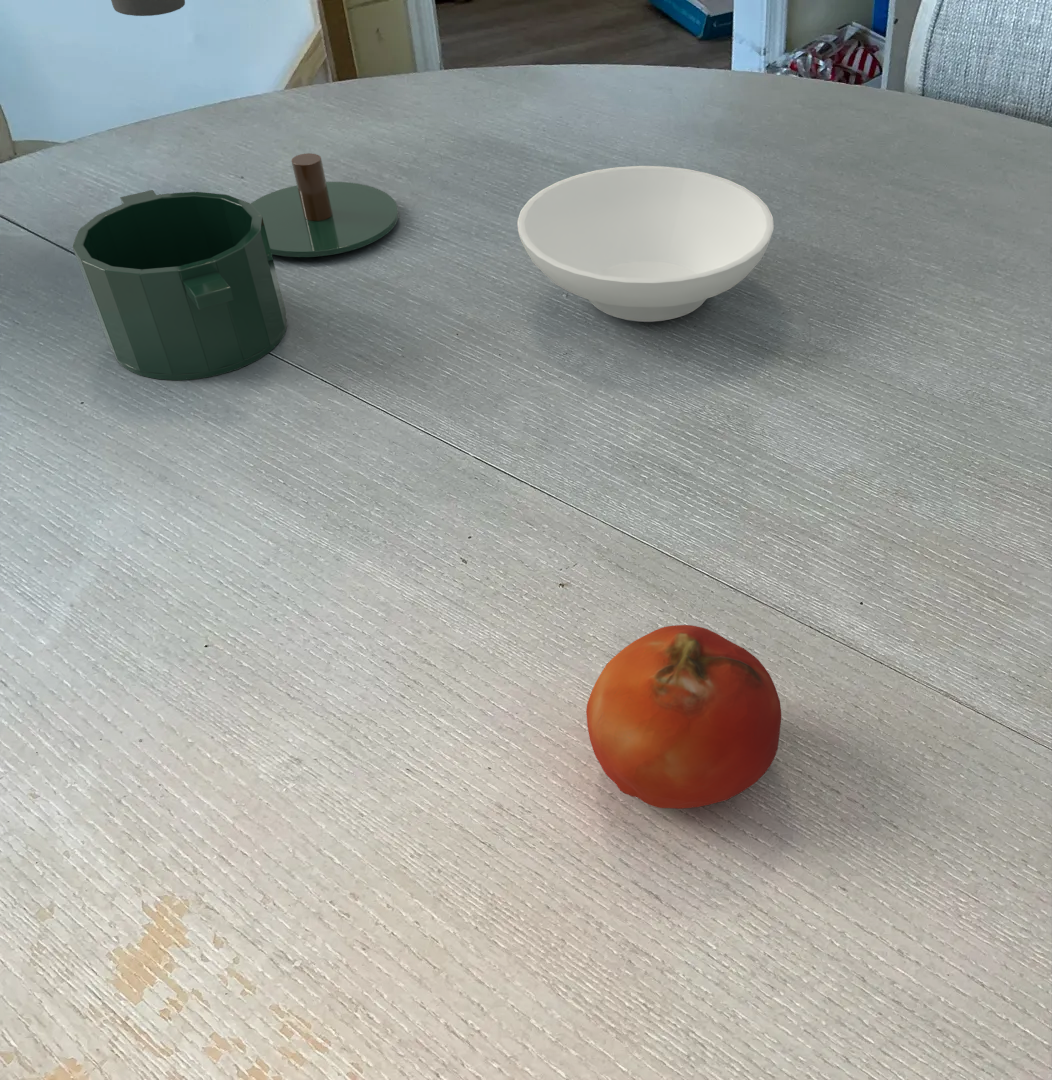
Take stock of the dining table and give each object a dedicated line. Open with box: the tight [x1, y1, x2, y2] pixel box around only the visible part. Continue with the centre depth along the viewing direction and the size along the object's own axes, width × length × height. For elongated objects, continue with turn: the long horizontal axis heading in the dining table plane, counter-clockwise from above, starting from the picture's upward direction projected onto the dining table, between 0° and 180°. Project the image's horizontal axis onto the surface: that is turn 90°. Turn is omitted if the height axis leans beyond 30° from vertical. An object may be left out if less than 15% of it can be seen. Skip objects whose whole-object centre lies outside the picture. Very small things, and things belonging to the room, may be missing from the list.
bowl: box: [516, 165, 775, 323], centre depth 92 cm, size 20×20×7 cm
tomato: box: [585, 624, 782, 810], centre depth 57 cm, size 9×9×8 cm
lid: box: [250, 152, 400, 258], centre depth 100 cm, size 13×13×6 cm
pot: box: [72, 189, 288, 381], centre depth 86 cm, size 12×18×8 cm
